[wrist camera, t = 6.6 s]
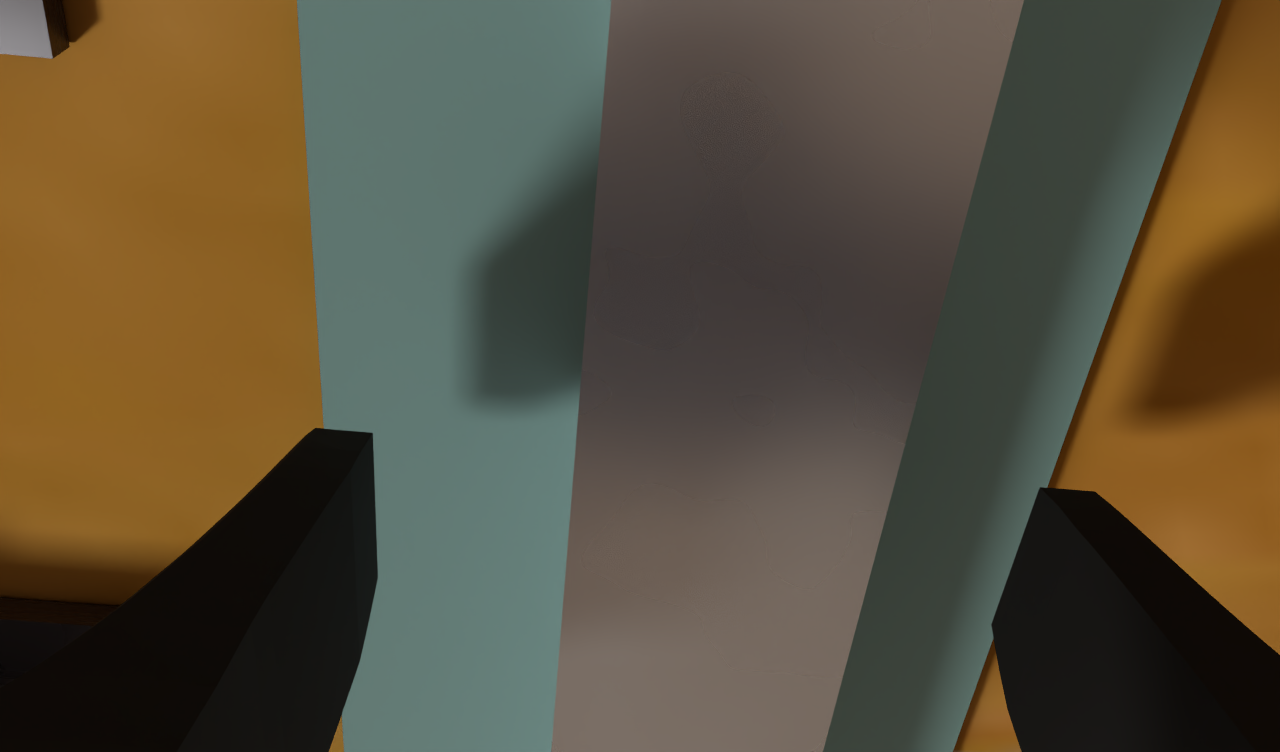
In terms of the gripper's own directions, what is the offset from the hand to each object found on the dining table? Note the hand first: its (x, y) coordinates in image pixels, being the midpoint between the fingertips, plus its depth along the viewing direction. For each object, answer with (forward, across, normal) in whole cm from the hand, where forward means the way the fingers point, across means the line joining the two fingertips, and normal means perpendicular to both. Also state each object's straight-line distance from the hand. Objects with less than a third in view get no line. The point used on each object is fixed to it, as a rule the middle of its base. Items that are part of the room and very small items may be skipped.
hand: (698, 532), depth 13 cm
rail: (+2, 0, 0) cm, 2 cm away
